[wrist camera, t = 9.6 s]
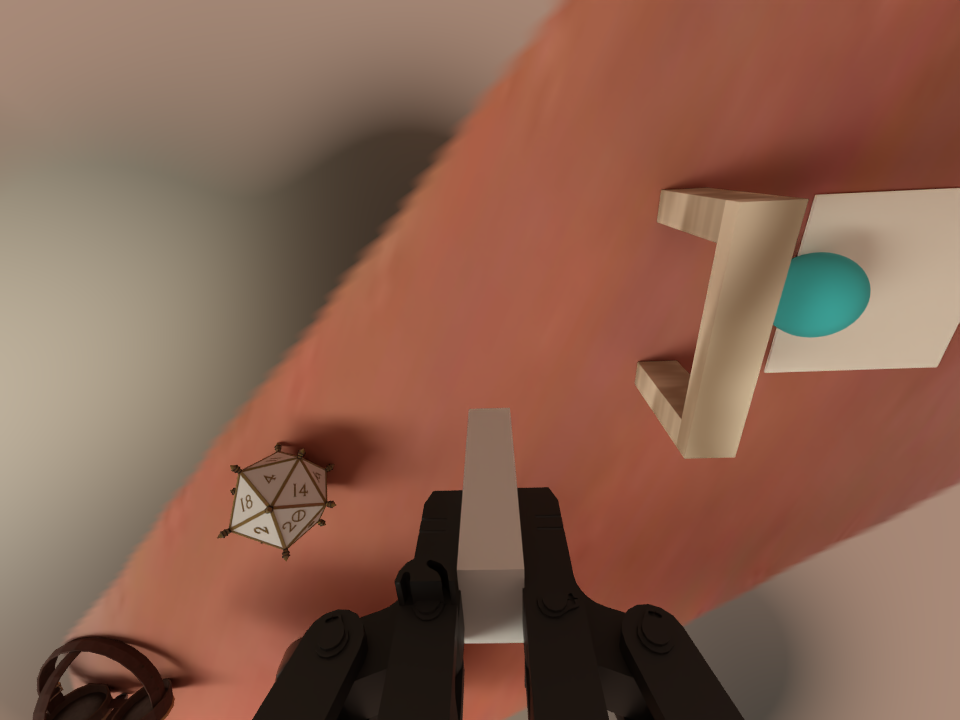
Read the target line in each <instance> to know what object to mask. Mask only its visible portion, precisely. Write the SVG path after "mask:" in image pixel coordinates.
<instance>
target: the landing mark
mask: <svg viewBox="0 0 960 720" xmlns="http://www.w3.org/2000/svg"><path fill="white" fill-rule="evenodd" d="M815 252H829V253H835V254H839V255H842V256H845V257H847V258H849V259H851V260H853V261H854V262H856V263H857V264H858V265H859V266H860V267H861V268H862V269H863V270H864V271H865V273H866V275H867V277H868V279H869V282H870V288H871V292H870V299H869V302H868V305H867V307H866V309H865V311H864V312H863V313H862V315H861V316H860V317H859V318H858V319H857V320H856V321H855V322H854V323H853V324H851V325H850V326H848V327H847V328H845V329H843V330H841V331H839V332H836V333H834V334H831V335H827V336H822V337H811V338H809V337H799V336H794V335H791V334H788V333H786V332H784V331H782V330H780V329H778V328H776V332H775V335H774V338H773V342H772V345H771V349H770V352H769V356H768V359H767V363H766V366H765V369H764V372H765V373H773V372H804V371H834V370H864V369H895V368H925V367H937V366H938V364H939V362H940V360H941V358H942V356H943V354H944V352H945V350H946V348H947V346H948V344H949V342H950V340H951V338H952V336H953V334H954V332H955V330H956V328H957V326H958V324H959V322H960V188H945V189H925V190H904V191H883V192H862V193H841V194H821V195H815V197H814V201H813V204H812V208H811V211H810V214H809V218H808V221H807V225H806V228H805V232H804V235H803V239H802V242H801V245H800V249H799V252H798V256H800V255H803V254H808V253H815Z"/></svg>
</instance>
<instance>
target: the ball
mask: <svg viewBox="0 0 960 720" xmlns="http://www.w3.org/2000/svg"><path fill="white" fill-rule="evenodd" d="M870 292H871V288H870V282H869V279H868V277H867V275H866V273H865V271H864V270H863V269H862V268H861V267H860V266H859V265H858V264H857V263H856V262H854V261H853V260H851V259H849V258H847V257H845V256H842V255H839V254H835V253H829V252H815V253H808V254H803V255H800V256H797V257H795V258H792V259H791V263H790V266H789V270H788V273H787V277H786V280H785V284H784V287H783V291H782V294H781V298H780V301H779V305H778V308H777V312H776V315H775V319H774V322H773V325H774V326H776V327H777V328H778V329H780V330H782V331H784V332H786V333H788V334H791V335H794V336H799V337H809V338H811V337H822V336H827V335H831V334H834V333H836V332H839V331H841V330H843V329H845V328H847V327H848V326H850V325H851V324H853V323H854V322H855V321H856V320H857V319H858V318H859V317H860V316H861V315H862V313H863V312H864V311H865V309H866V307H867V305H868V302H869V299H870Z"/></svg>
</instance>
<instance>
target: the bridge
mask: <svg viewBox="0 0 960 720" xmlns="http://www.w3.org/2000/svg"><path fill="white" fill-rule="evenodd" d="M808 200H809V199H805V198H796V197H787V196H778V195H769V194H760V193H751V192H742V191H733V190H724V189H716V188H691V189H671V190H661V195H660V203H659V210H658V217H657V222H658V223H661V224H664V225H667V226H670V227H672V228H675V229H678V230H681V231H684V232H687V233H690V234H692V235H695V236H698V237H701V238H704V239H707V240H710V241H713V242H715V243H717V246H716V251H715V256H714V261H713V266H712V271H711V276H710V281H709V286H708V291H707V296H706V301H705V306H704V311H703V316H702V321H701V326H700V331H699V335H698V340H697V345H696V350H695V355H694V360H693V365H692V370H691V375H690V374H689V373H688V372H687V371H686V370H685V369H684V368H683V367H682V366H681V365H680V364H679V362H678V361H677V360H676V361H646V362H638V364H637V371H636V379H635V385H636V387H637V388H638V390H639V391H640V393H641V394H642V396H643V397H644V399H645V400H646V402H647V403H648V405H649V406H650V408H651V409H652V411H653V412H654V414H655V415H656V417H657V418H658V420H659V421H660V423H661V424H662V426H663V427H664V429H665V430H666V432H667V433H668V435H669V436H670V438H671V439H672V441H673V442H674V444H675V445H676V447H677V448H678V450H679V451H680V453H681V454H682V456H683V457H684V459H686V458H725V457H735V456H736V452H737V449H738V445H739V442H740V438H741V435H742V431H743V428H744V424H745V421H746V417H747V414H748V410H749V407H750V403H751V400H752V396H753V393H754V389H755V386H756V382H757V379H758V375H759V372H760V368H761V365H762V361H763V358H764V354H765V351H766V347H767V344H768V340H769V337H770V333H771V329H772V326H773V322H774V319H775V315H776V312H777V308H778V305H779V301H780V298H781V294H782V291H783V287H784V284H785V280H786V277H787V273H788V270H789V266H790V263H791V259H792V256H793V252H794V249H795V245H796V242H797V238H798V235H799V231H800V228H801V224H802V221H803V217H804V214H805V210H806V207H807V203H808Z"/></svg>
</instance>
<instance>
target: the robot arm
mask: <svg viewBox="0 0 960 720" xmlns="http://www.w3.org/2000/svg"><path fill="white" fill-rule="evenodd" d="M419 531H420V533H419V536H418V541H417V547H416V552H415V557H414V559H413V560H411V561H409V562H407V563H406V564H405V565H404V566H403V567H402V569H401V570H400V571H399V572H398V575H397V577H396V579H395V587H396V591H397V596H398V601H396V602H395V603H394V604H392V605H391V606H390V607H387V608H385V609H383V610H381V611H378V612H375V613H372V614H370V615H367V616H364V617H361V618H359V616H358V615H357V614H356V613H354V612H352V611H350V610H335V611H332V612H329V613H326V614H325V615H323V616H322V617H320V618H319V619H318V620H316V621H315V622H314V623H313V624H312V625H311V627H310V628H309V629H308V630H307V632H306V633H305V635H304V636H303V638H301V639H299V640H297V641H296V642H294V643H293V644H292V645H290V646H289V647H288V649H287V650H286V652H285V654H284V656H283V659H282V661H281V664H280V666H279V668H278V671H277V674H276V679H275V683H274V685H273V687H272V688H271V690H270V691H269V693H268V695H267V696H266V698H265V700H264V701H263V703H262V705H261V706H260V708H259V709H258V711H257V713H256V714H255V716H254V718H253V719H252V720H462V717H463V694H464V671H465V670H464V661H463V651H464V643H524V653H525V688H526V694H527V708H528V720H609V717H608V712H607V710H609V711H611V712H614V713H615V715H616V718H617V720H744V718H743V717H742V715H741V714H740V712H739V711H738V709H737V708H736V706H735V705H734V703H733V702H732V700H731V699H730V697H729V696H728V694H727V693H726V691H725V690H724V688H723V687H722V685H721V684H720V682H719V681H718V679H717V677H716V676H715V675H714V673H713V671H712V670H711V669H710V667H709V665H708V664H707V663H706V661H705V659H704V658H703V656H702V655H701V653H700V652H699V650H698V649H697V647H696V646H695V644H694V643H693V641H692V640H691V638H690V637H689V635H688V634H687V632H686V631H685V629H684V628H683V626H682V625H681V624H680V623H679V622H678V621H677V620H676V618H675V617H674V616H673V615H671V614H670V613H668V612H667V611H665V610H663V609H662V608H659V607H656V606H653V605H649V604H644V605H636V606H634V607H632V608H630V609H629V610H628V611H627V612H626V613H624V612H621V611H618V610H615V609H611V608H608V607H605V606H603V605H600V604H598V603H596V602H594V601H593V600H591V599H590V598H588V597H587V596H586V595H585V594H584V593H583V592H582V591H581V590H580V588H579V586H578V585H577V583H576V581H575V578H574V575H573V570H572V565H571V561H570V556H569V551H568V546H567V541H566V537H565V532H564V528H563V522H562V517H561V513H560V508H559V503H558V499H557V498H556V497H555V495H554V494H553V493H552V491H551V490H550V489H549V488H548V487H542V488H517V482H516V471H515V460H514V449H513V438H512V427H511V416H510V408H488V409H469V415H468V429H467V442H466V455H465V468H464V481H463V490H458V491H433V492H432V494H431V495H430V497H429V498H428V500H427V501H426V502H425V504H424V509H423V514H422V521H421V525H420V530H419Z"/></svg>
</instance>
